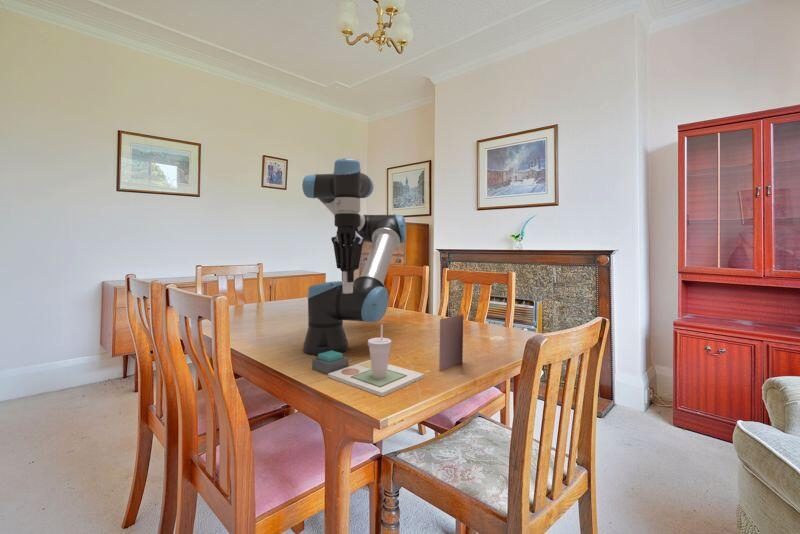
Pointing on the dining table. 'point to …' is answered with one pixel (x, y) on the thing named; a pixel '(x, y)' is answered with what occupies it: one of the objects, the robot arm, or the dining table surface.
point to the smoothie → (379, 355)
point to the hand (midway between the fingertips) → (347, 292)
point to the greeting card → (451, 341)
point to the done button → (330, 356)
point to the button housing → (329, 365)
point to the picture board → (364, 380)
